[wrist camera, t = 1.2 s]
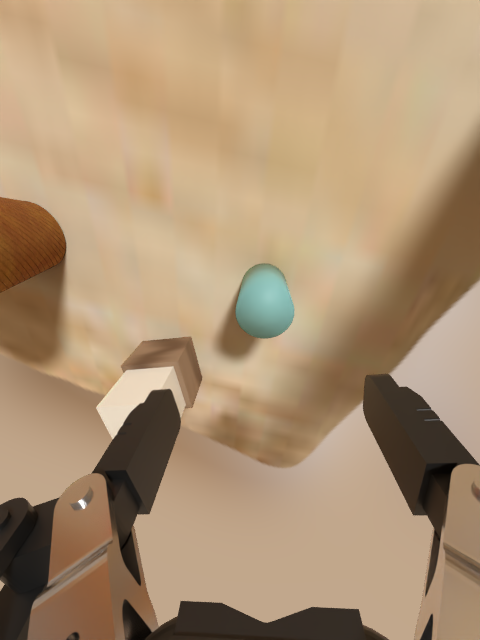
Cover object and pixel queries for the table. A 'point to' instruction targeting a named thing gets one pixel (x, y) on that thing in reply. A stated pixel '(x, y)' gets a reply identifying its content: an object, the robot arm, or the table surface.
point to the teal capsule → (264, 302)
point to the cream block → (136, 394)
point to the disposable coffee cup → (27, 241)
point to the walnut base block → (170, 362)
